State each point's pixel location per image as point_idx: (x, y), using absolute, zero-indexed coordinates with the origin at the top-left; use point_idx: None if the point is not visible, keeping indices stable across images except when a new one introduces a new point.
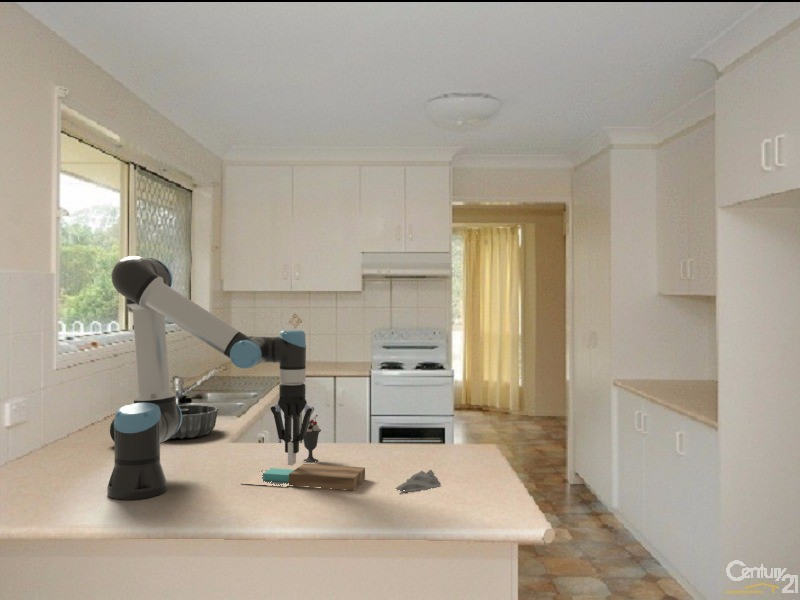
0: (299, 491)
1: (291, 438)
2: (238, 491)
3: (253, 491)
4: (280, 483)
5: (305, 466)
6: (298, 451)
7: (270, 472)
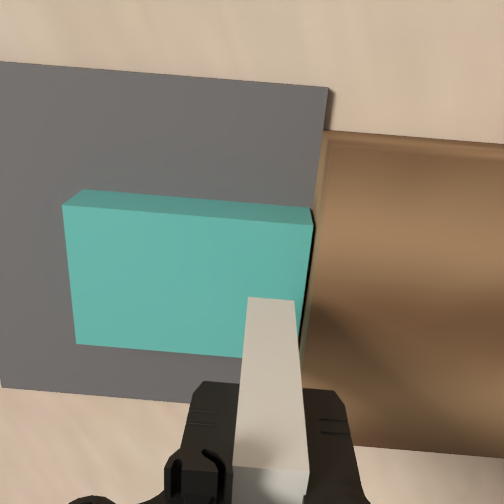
0: (370, 448)
1: (231, 493)
2: (65, 476)
3: (136, 470)
4: (227, 363)
5: (369, 245)
6: (338, 402)
7: (114, 317)
